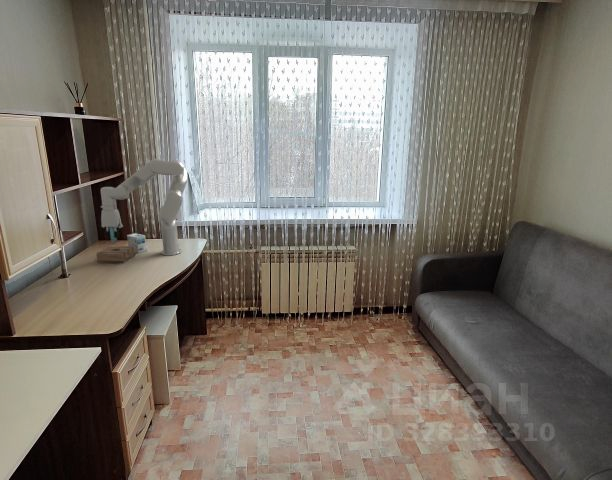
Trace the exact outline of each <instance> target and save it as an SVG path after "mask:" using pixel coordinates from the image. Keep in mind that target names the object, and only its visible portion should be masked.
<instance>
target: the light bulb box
mask: <svg viewBox="0 0 612 480" xmlns="http://www.w3.org/2000/svg"><path fill="white" fill-rule="evenodd" d="M126 237H127V246H135V252H136V254H140V253H144V252H147V251H148V247H147V240H146V239H147V238H146V235H145V234H140V233H136V232H134V233H131V234H127V235H126Z"/></svg>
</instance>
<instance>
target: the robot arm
mask: <svg viewBox="0 0 612 480" xmlns="http://www.w3.org/2000/svg"><path fill="white" fill-rule="evenodd" d="M158 175H162V176H173V178H172V181H171V184H170V185H169V189H168V191H167V192H166V194H165V195H166V196H165V198H166V199H165V201H164V204H163V205H162V206H161V207H160V208H159V211H158V213H159V221H160V222H159V223H160V231H161V232H160V233H161V239H162V249H163V250H161V251H160V254H161V255H163V256H175V255H179V254H181V253H182V249H181V248H180V247H179V246H180V243H179V239H178V235H179V234H178V226H177V217H178V215H179V212H180V209H181V207H182V204H183V202H184V197H183V193H184V191H185V188H186V186H187V183H188V172H187V169H186V167H185V166H184V164H183V163H182V162H181V161H180V160H177V159H174V160H163V159H160V158H152V159H150V161H148V162H147V163H145V164H144V165H143V166H142V167H141V168H139V169H138V170H137V171H135V172H134V173H133V174H131V176H129V177H128V178H126V180H123V182H122V183H120V184H119V185H117V186H116V187H114V186H103V187H101V188H100V195H101V196H100V197H101V205H100V208H101V209H102V210H101V215H100V217H101V218H100V219H101V221H100V222H101V225H100V226H101V227H102V228H103V229H105V231H106V232H107V237H108V238H109V239H111V236H110V229H109V227H114V230H115V232H114V236H115V238H119V235H120V234H119V230H120V229H121V228H123V227H124V225H123V223H122V219H121V216H120V215H121V214H120V211H119V209H118V207H117V206H118V205H117V200H122V201H123V200H126V199H127V198H129V194H131V193H132V192H133V191H135V190H136V189H137V188H139V187H140V186H143V185H145V184H147V183H148V182H149V181H151V180H152V179H154V178H155V177H156V176H158Z"/></svg>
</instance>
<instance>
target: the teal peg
mask: <svg viewBox="0 0 612 480" xmlns="http://www.w3.org/2000/svg"><path fill="white" fill-rule="evenodd" d="M109 229H110V236H111V237H110V242H111V243H115V242H118V239H117V238H118V237H117V238H115V236H114V232H115V230H114V227H109Z"/></svg>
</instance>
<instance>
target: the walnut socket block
mask: <svg viewBox="0 0 612 480" xmlns="http://www.w3.org/2000/svg"><path fill="white" fill-rule="evenodd" d="M95 254H96V262H97V264H125V263H127V262H128V261H129V260H131V259H132V258H134V257H135V256H136V255H137V253H136V252H135V246H128V245H109V246H108V247H105V248H104V249H102V250H100V251H98V252H96V253H95Z"/></svg>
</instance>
